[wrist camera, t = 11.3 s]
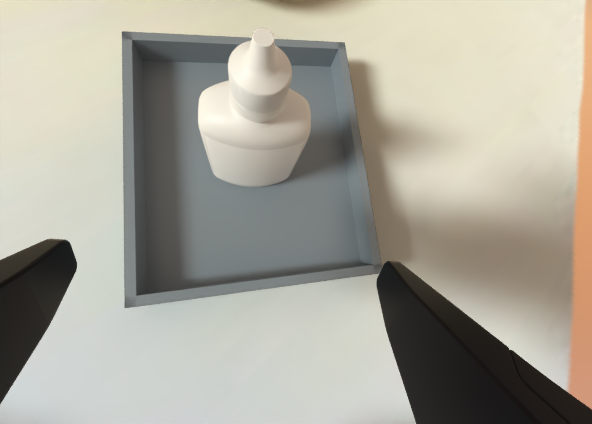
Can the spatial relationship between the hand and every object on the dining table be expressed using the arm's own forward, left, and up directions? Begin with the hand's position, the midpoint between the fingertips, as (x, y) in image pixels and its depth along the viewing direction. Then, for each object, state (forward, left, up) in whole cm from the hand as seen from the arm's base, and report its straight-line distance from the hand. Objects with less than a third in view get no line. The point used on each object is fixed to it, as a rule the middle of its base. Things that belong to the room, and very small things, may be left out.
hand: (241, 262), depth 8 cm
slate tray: (+7, -1, -12) cm, 14 cm away
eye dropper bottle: (+7, -1, -12) cm, 14 cm away
